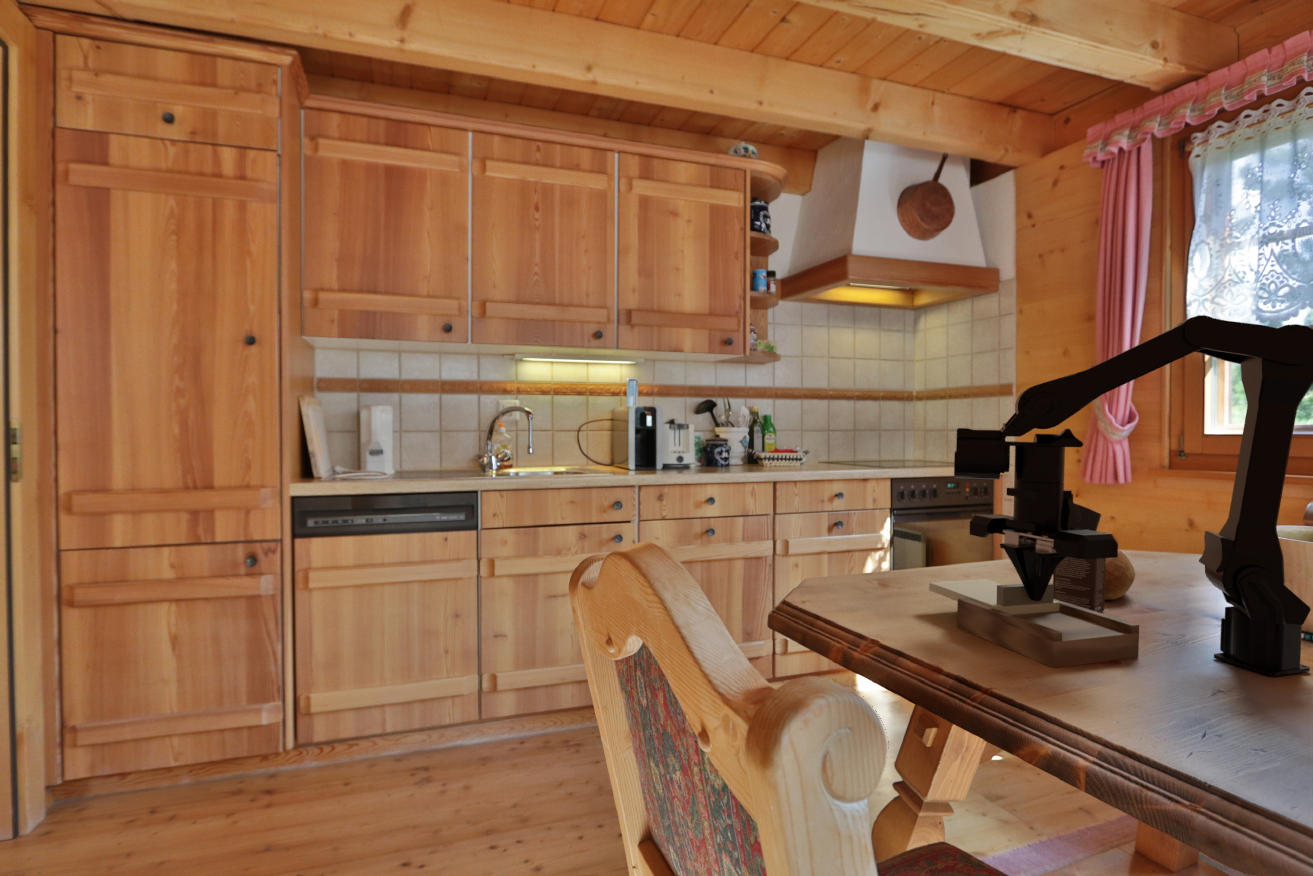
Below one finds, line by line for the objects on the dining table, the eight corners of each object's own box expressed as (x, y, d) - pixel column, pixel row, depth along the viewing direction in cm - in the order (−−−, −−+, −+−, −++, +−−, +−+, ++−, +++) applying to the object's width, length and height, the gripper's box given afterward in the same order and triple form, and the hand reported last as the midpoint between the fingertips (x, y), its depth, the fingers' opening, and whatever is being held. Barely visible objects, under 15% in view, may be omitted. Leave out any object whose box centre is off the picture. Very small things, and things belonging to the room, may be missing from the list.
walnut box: (1138, 657, 86) (1139, 624, 86) (1053, 667, 82) (1054, 633, 82) (1032, 620, 101) (1033, 592, 101) (957, 627, 97) (957, 598, 97)
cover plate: (1059, 611, 95) (1060, 583, 95) (996, 616, 92) (997, 587, 92) (985, 586, 108) (986, 562, 108) (929, 590, 106) (929, 565, 106)
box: (1105, 611, 106) (1107, 531, 106) (1094, 616, 103) (1096, 534, 103) (1062, 602, 111) (1064, 526, 111) (1050, 607, 108) (1052, 529, 108)
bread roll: (1068, 600, 113) (1070, 550, 113) (1063, 581, 126) (1064, 536, 126) (1140, 608, 108) (1142, 556, 108) (1127, 587, 122) (1128, 541, 121)
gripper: (1154, 487, 85) (1150, 615, 86) (1031, 474, 103) (1028, 580, 104) (1082, 489, 82) (1079, 622, 83) (967, 475, 100) (965, 585, 100)
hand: (1035, 600), depth 92 cm, fingers closed
